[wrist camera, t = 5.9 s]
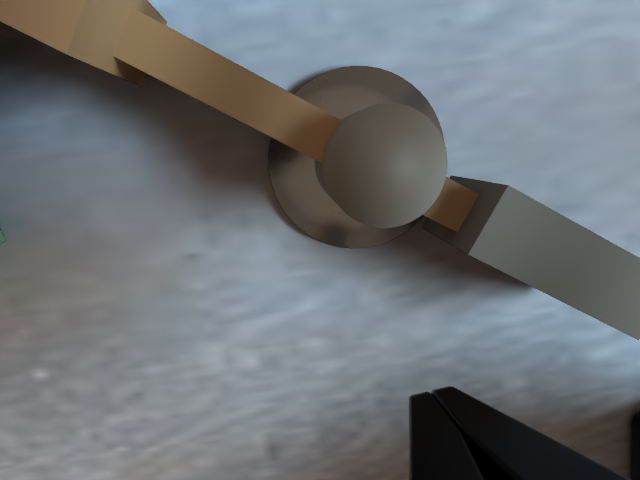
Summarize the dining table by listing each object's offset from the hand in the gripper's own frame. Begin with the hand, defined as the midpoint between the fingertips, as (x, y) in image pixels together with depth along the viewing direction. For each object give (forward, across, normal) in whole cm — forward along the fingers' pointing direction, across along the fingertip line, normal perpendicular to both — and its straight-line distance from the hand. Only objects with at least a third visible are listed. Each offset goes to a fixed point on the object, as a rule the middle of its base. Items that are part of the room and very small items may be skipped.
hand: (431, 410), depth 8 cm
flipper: (+7, +1, -5) cm, 9 cm away
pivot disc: (+7, -1, -4) cm, 9 cm away
